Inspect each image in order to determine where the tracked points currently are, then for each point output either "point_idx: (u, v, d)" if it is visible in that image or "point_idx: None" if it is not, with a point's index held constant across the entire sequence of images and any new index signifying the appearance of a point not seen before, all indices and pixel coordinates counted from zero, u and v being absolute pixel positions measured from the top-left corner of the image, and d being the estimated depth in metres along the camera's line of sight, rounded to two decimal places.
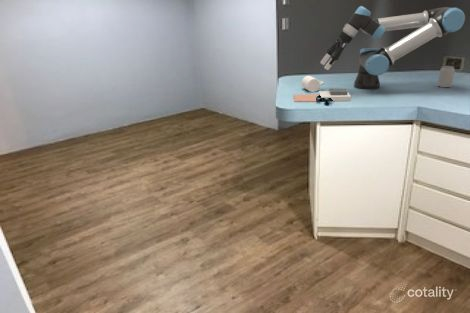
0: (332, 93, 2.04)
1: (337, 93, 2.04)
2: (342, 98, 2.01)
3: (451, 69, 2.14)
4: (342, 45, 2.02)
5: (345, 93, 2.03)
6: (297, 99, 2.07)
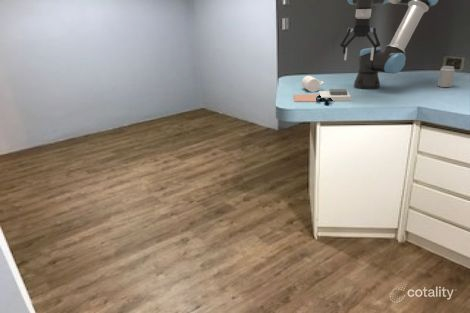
0: (332, 93, 2.04)
1: (337, 93, 2.04)
2: (342, 98, 2.01)
3: (451, 69, 2.14)
4: None
5: (345, 93, 2.03)
6: (297, 99, 2.07)
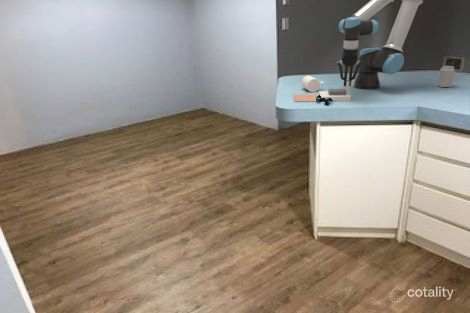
0: (331, 93, 2.04)
1: (336, 93, 2.04)
2: (342, 98, 2.01)
3: (451, 69, 2.14)
4: None
5: (344, 93, 2.03)
6: (297, 99, 2.07)
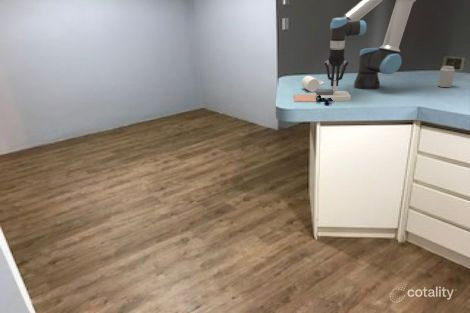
0: (318, 93, 2.05)
1: (323, 93, 2.04)
2: (342, 98, 2.01)
3: (451, 69, 2.14)
4: None
5: (331, 93, 2.04)
6: (297, 99, 2.07)
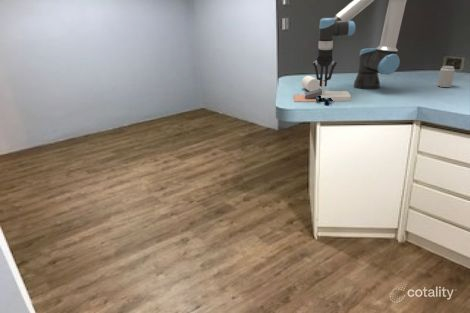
0: (307, 96, 2.06)
1: (312, 95, 2.06)
2: (342, 98, 2.01)
3: (451, 69, 2.14)
4: None
5: (319, 93, 2.05)
6: (297, 99, 2.07)
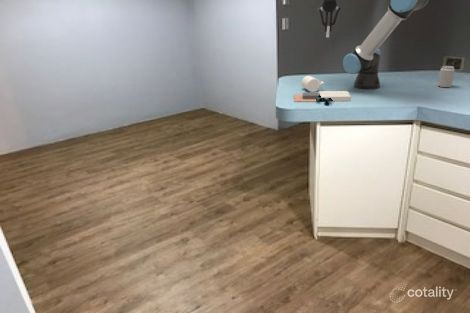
0: (304, 97, 2.07)
1: (309, 97, 2.06)
2: (342, 98, 2.01)
3: (451, 69, 2.14)
4: None
5: None
6: (297, 99, 2.07)
